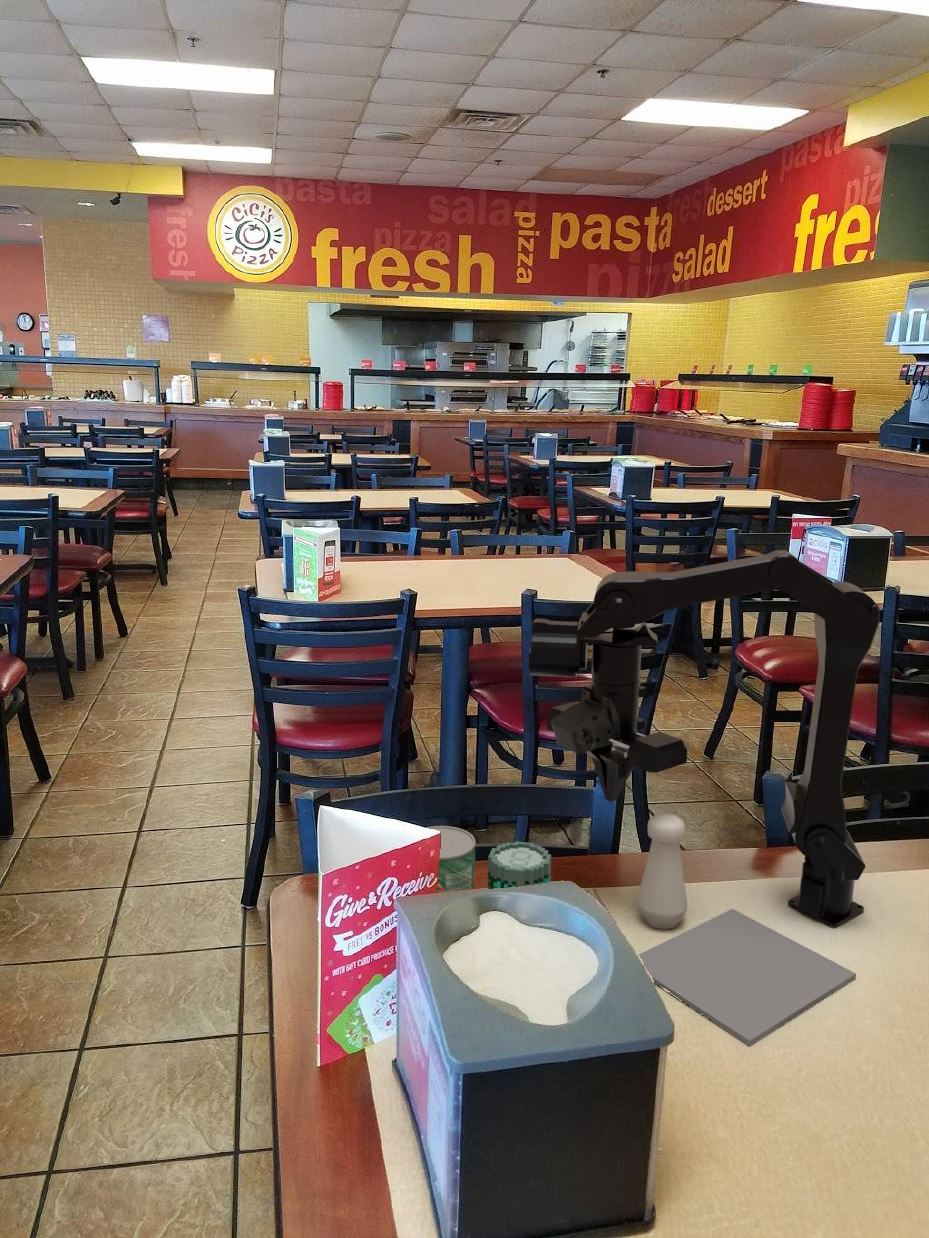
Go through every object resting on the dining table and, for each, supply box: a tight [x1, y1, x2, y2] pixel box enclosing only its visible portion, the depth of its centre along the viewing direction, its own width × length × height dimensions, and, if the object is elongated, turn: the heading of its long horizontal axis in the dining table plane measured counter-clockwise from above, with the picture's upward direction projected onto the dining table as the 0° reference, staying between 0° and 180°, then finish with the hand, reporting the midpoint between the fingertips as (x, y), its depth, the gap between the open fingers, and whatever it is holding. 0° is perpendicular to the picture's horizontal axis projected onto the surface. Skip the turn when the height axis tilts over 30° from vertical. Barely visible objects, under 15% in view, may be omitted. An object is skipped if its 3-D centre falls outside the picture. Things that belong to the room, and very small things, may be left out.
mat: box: [637, 908, 857, 1047], centre depth 98 cm, size 18×16×1 cm
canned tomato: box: [426, 825, 477, 892], centre depth 105 cm, size 8×8×11 cm
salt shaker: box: [637, 813, 688, 930], centre depth 106 cm, size 6×6×13 cm
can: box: [487, 840, 552, 890], centre depth 93 cm, size 6×6×15 cm
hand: (610, 800), depth 112 cm, fingers closed
